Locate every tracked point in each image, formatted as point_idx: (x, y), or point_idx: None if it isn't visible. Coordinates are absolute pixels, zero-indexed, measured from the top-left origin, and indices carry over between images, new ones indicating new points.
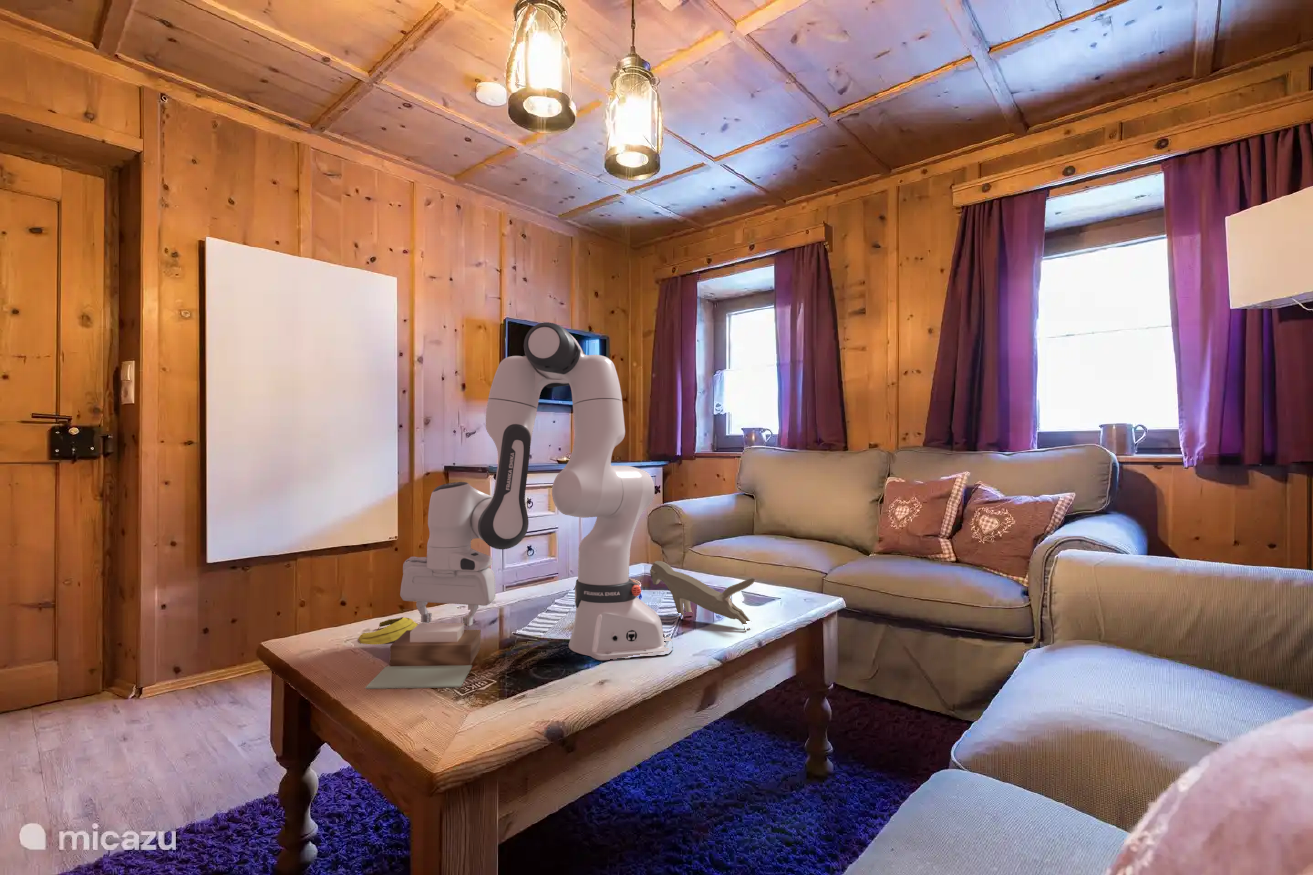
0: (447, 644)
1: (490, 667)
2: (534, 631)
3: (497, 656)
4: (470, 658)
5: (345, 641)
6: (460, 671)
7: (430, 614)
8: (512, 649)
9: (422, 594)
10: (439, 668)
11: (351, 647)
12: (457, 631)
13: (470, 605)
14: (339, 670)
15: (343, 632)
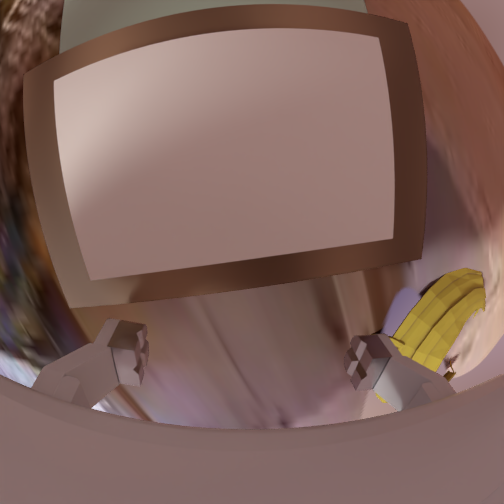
0: (122, 40)
1: (17, 98)
2: None
3: (25, 200)
4: None
5: (498, 277)
6: (84, 20)
7: (358, 379)
8: (21, 272)
9: (465, 431)
10: None
11: (492, 238)
12: (55, 84)
13: (52, 396)
14: (465, 56)
15: (495, 326)
